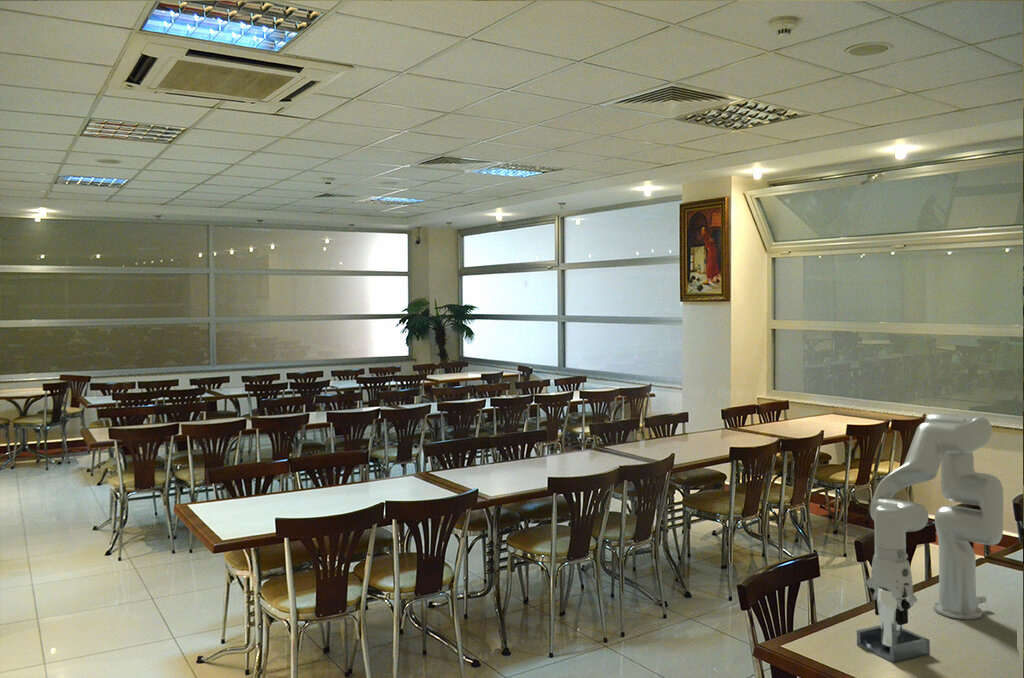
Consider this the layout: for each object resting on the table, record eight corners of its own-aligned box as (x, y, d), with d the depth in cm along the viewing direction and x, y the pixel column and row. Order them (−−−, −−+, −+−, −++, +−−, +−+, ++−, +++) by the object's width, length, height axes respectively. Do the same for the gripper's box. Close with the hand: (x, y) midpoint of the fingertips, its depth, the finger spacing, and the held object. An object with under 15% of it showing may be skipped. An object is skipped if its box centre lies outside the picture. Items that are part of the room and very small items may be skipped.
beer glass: (910, 649, 205) (909, 593, 205) (881, 647, 207) (880, 591, 206) (902, 638, 212) (901, 583, 212) (874, 637, 214) (874, 582, 213)
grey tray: (891, 637, 218) (891, 622, 217) (929, 654, 206) (929, 639, 206) (856, 644, 213) (856, 630, 213) (893, 663, 202) (893, 648, 201)
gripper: (928, 560, 202) (929, 628, 202) (875, 542, 218) (876, 605, 219) (906, 564, 199) (907, 633, 200) (854, 545, 215) (855, 610, 216)
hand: (891, 618), depth 209 cm, fingers closed on beer glass, 6 cm apart
